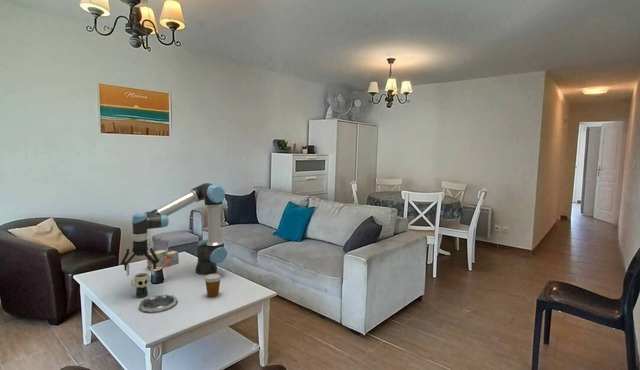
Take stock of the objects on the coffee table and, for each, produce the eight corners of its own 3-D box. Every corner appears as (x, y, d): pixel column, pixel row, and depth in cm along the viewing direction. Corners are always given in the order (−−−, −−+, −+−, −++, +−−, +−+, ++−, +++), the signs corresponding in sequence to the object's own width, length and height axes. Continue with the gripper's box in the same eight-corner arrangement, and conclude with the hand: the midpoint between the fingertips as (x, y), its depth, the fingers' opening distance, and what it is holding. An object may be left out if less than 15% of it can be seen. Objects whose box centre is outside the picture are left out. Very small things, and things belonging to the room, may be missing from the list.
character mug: (134, 300, 196) (133, 279, 195) (129, 297, 201) (129, 275, 200) (153, 295, 204) (153, 274, 203) (149, 291, 209) (148, 271, 208)
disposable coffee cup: (224, 293, 209) (224, 274, 208) (214, 299, 200) (214, 280, 199) (211, 291, 212) (211, 272, 211) (201, 297, 203) (201, 277, 202)
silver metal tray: (180, 295, 204) (180, 293, 204) (174, 311, 185) (174, 308, 185) (143, 298, 199) (143, 295, 199) (134, 314, 180) (134, 311, 180)
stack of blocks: (173, 262, 264) (173, 246, 263) (178, 263, 261) (178, 248, 260) (147, 269, 247) (146, 253, 245) (152, 271, 243) (151, 255, 242)
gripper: (164, 237, 206) (164, 271, 208) (118, 239, 200) (119, 273, 202) (161, 240, 199) (162, 276, 201) (114, 242, 193) (115, 278, 195)
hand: (140, 275), depth 201 cm, fingers open, 13 cm apart
